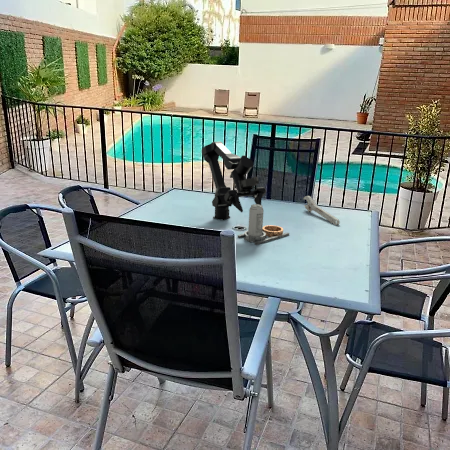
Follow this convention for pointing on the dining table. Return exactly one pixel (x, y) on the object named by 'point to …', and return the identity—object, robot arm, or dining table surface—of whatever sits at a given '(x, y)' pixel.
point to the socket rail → (268, 231)
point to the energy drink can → (255, 220)
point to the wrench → (320, 211)
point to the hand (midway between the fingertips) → (251, 210)
